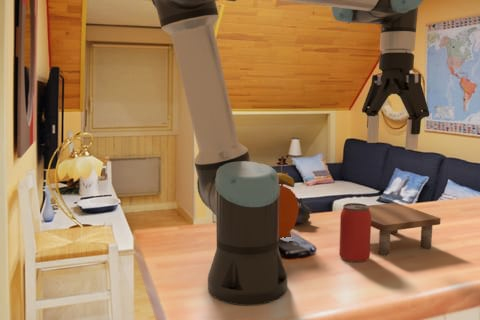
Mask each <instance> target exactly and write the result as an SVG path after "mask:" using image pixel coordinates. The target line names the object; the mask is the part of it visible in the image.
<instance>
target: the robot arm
mask: <svg viewBox="0 0 480 320" xmlns="http://www.w3.org/2000/svg"><path fill="white" fill-rule="evenodd" d="M216 1H217V2H218V0H151V2H152V5H153V7H154V8H155V9H156V13H157V16H158V20H159V24H160V28H161V30H162V31H163V32H164V33H166V34H167V35H169V36H170V37H171V41H172V44H173V49H174V52H175V53H174V54H175V58H176V62H177V66H178V71H179V75H180V78H181V83H182V86H183V91H184V95H185V100H186V103H187V108H188V110H189V111H188V112H189V115H190V119H191V123H192V128H193V132H194V136H195V140H196V144H197V148H198V153H197V155H196V157H195V158H194V160H193V162H194V165H195V166H194V167H195V171H196V174H197V180H196V181H197V182H196V184H197V187H196V189H197V193H198V196H199V198H200V199H201V201H202V203H203V204H204V205H205V206H206V207H207V208H208V209H209V210H210V211H211V212H212V213H213V215H215V219H216V223H215V224H216V249H215V254H214V256H213V259H212V263H211V266H210V268H209V269H210V270H209V273H208V276H207V290H208V293H209V294H210V295H211V296H212V297H214V298H215V299H217V300H220V301H222V302H225V303H227V304H232V305H241V306H242V305H244V306H248V305H249V306H252V305H256V306H257V305H262V304H267V303H271V302H272V303H273V302H274V301H277V300H279V299H280V298H282V297H283V296H284V295H285V294H286V293H287V291H288V276H287V272H286V269H285V265H284V262H283V260H282V256H281V253H280V250H279V239H278V235H279V194H280V187H279V185H280V182H279V178H278V174H277V173H278V172H277V171H276V170H275V169H274V168H273V167H271V166H270V165H267V164H266V163H263V164H261V163H259V162H255V161H251V159H250V154H249V149H248V147H246V146H245V145H243V144H242V143H241V142H239V137H238V132H237V128H236V125H235V124H236V123H235V119H234V118H235V117H234V115H233V110H232V107H231V100H230V97H229V92H228V88H227V87H228V86H227V83H226V78H225V74H224V70H223V65H222V60H221V56H220V51H219V47H218V42H217V38H216V33H215V28H214V27H215V24H216V23H217V21H218V20H219V17H220V16H219V12H218V7H217V2H216ZM227 1H229V2H238V1H239V0H227ZM278 1H280V2H281V1H282V2H287V3H288V2H289V3H298V4H305V5H313V6H322V7H323V6H324V7H330V8H331V13H332V17H333V18H334V19H335V21H337V22H342V23H347V24H351V23H352V24H366V25H368V24H369V25H380V26H381V27H380V40H379V51H380V52H381V53H380V54H379V56H378V57H379V58H378V69H379V70H380V71H381V74H373V75H372V77H371V84H370V87H369V90H368V92H367V95H366V97H365V101H364V103H363V106H362V109H361V112H362V113H365V114H366V116H367V119H366V120H367V121H366V128H367V131H366V132H367V136H366V143H368V144H369V143H371V144H376V143H378V142H379V128H380V114H379V112H380V110H381V109H382V107H383V106H384V105H385V102H386V101H387V99H388V98H389V97H390V96H391V95H397V96H398V97H399V98H400V100H401V102H402V104H403V106H404V108H405V110H406V113H407V114H408V115H409V116H408V118H407V120H406V127H405V128H406V132H405V142H404V143H405V144H404V145H405V146H404V150H418V144H419V143H418V142H419V135H420V134H421V126H422V125H421V124H422V122H421V121H422V120H423V119H425V118H429V116H430V110H429V107H428V103H427V101H426V97H425V93H424V89H423V86H422V75H421V73H412V72H411V71H412V70H414V67H415V66H414V64H415V55H414V53H413V52H414V51H415V50H416V49H415V48H416V36H417V34H416V33H417V24H418V23H417V22H418V11H419V6H421V5H422V4H423V2H424V1H425V0H278Z"/></svg>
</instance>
